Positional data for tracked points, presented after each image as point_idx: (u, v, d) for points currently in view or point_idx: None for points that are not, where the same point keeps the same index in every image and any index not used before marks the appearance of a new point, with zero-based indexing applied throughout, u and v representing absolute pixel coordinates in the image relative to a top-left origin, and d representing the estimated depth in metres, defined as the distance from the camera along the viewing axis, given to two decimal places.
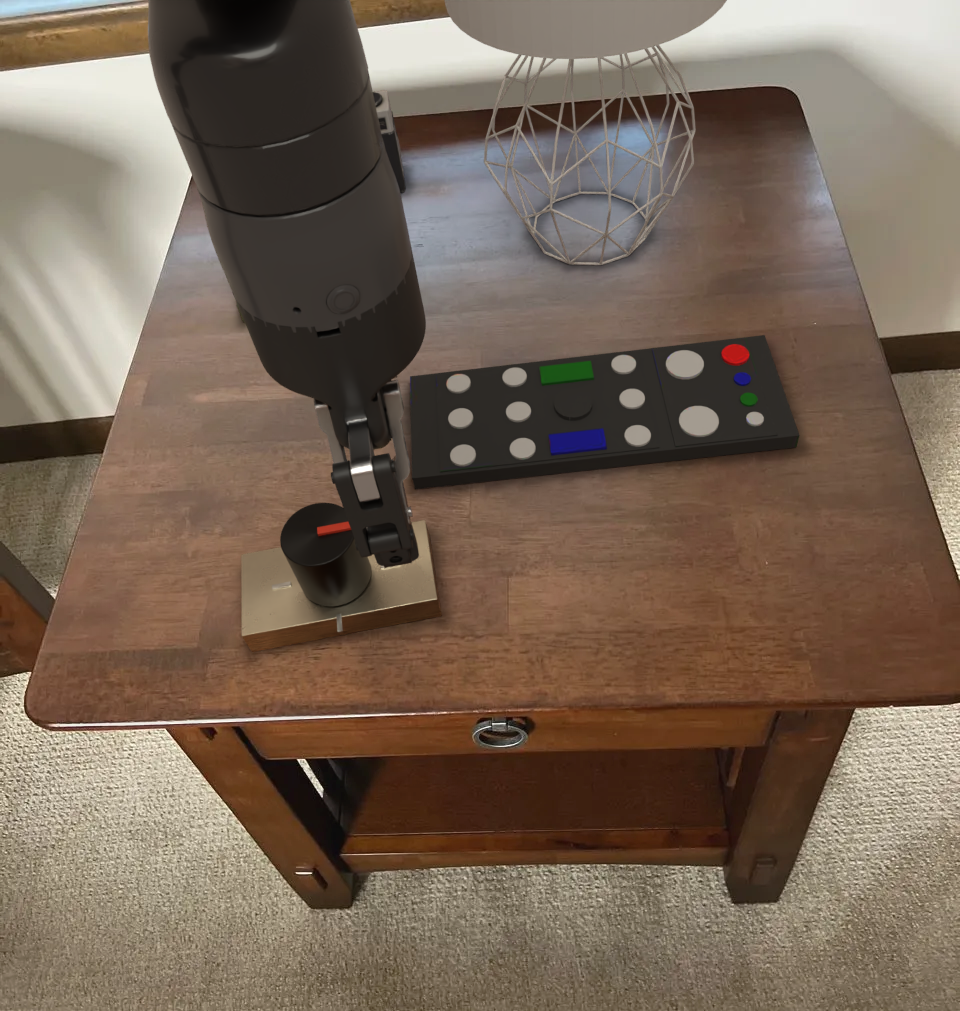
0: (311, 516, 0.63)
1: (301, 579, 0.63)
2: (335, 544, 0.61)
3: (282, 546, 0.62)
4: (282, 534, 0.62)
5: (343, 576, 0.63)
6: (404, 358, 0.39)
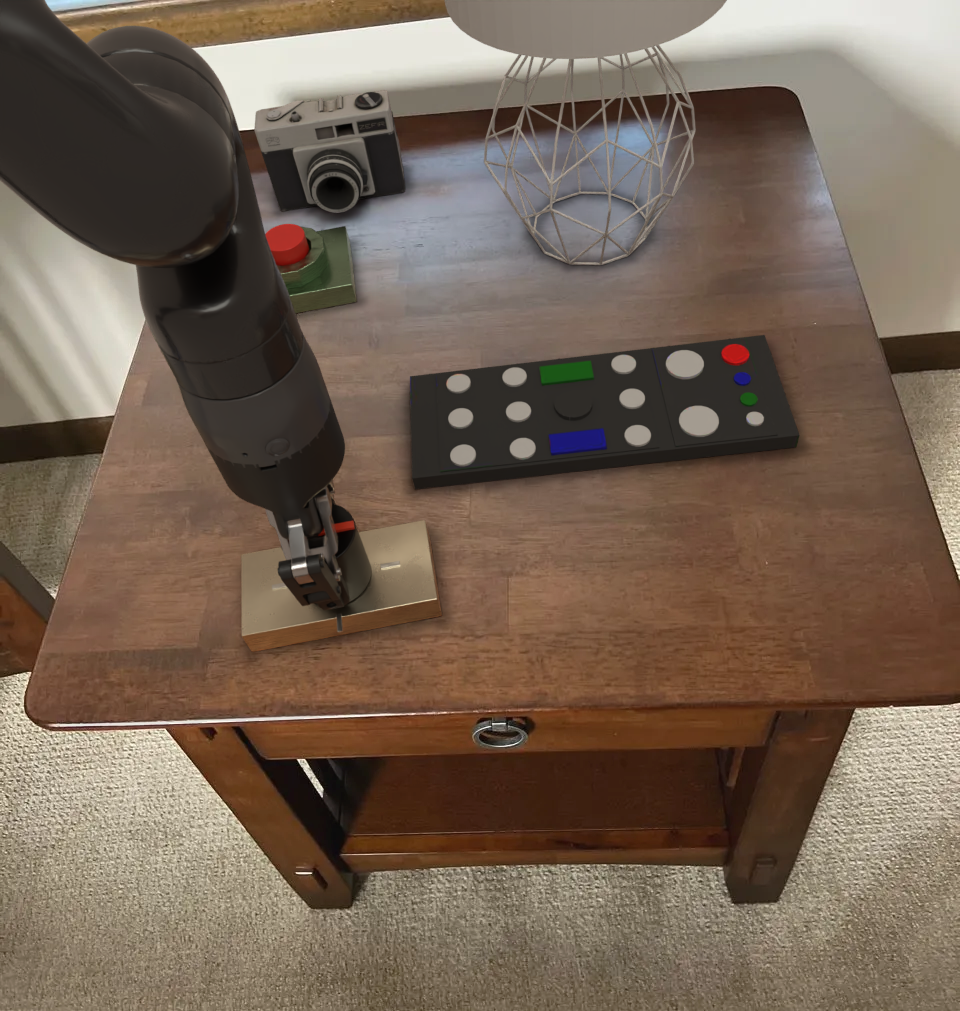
0: None
1: None
2: None
3: None
4: None
5: (343, 576, 0.63)
6: (326, 478, 0.53)
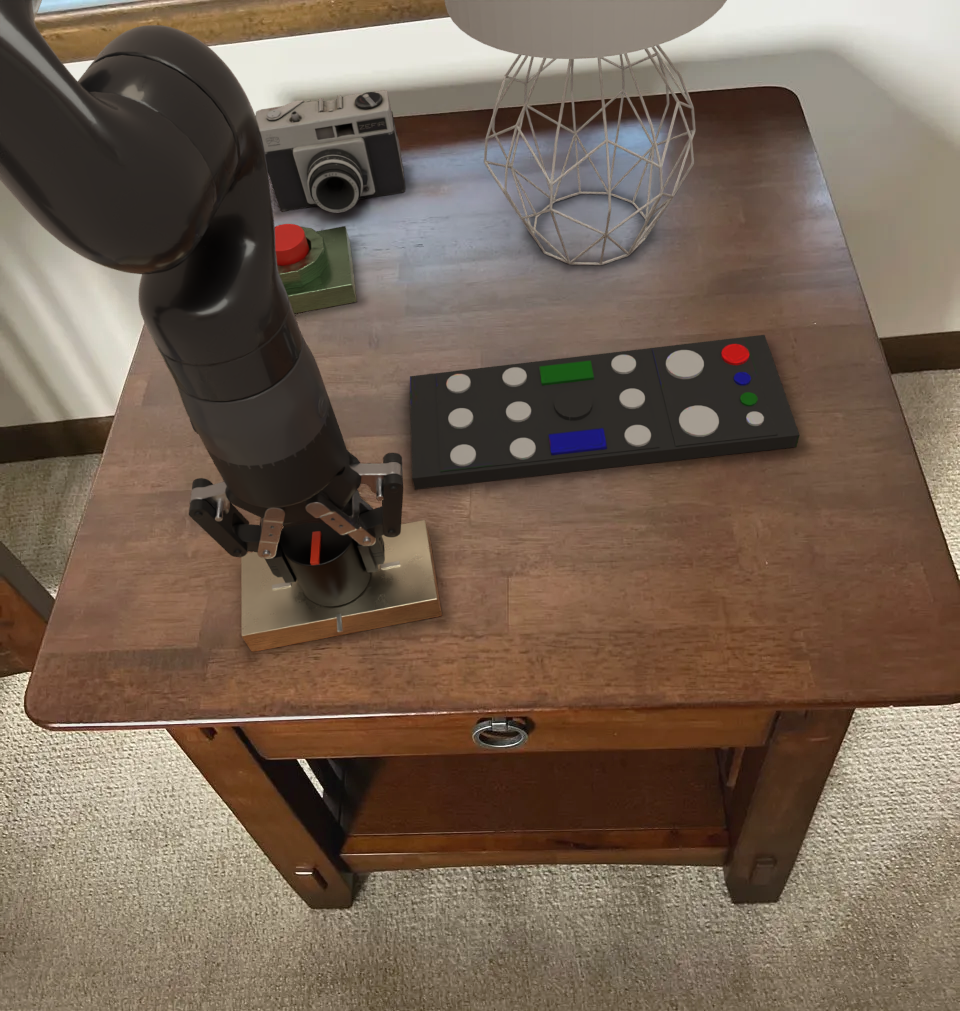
0: None
1: None
2: (298, 548, 0.61)
3: None
4: None
5: (291, 568, 0.63)
6: (233, 491, 0.54)
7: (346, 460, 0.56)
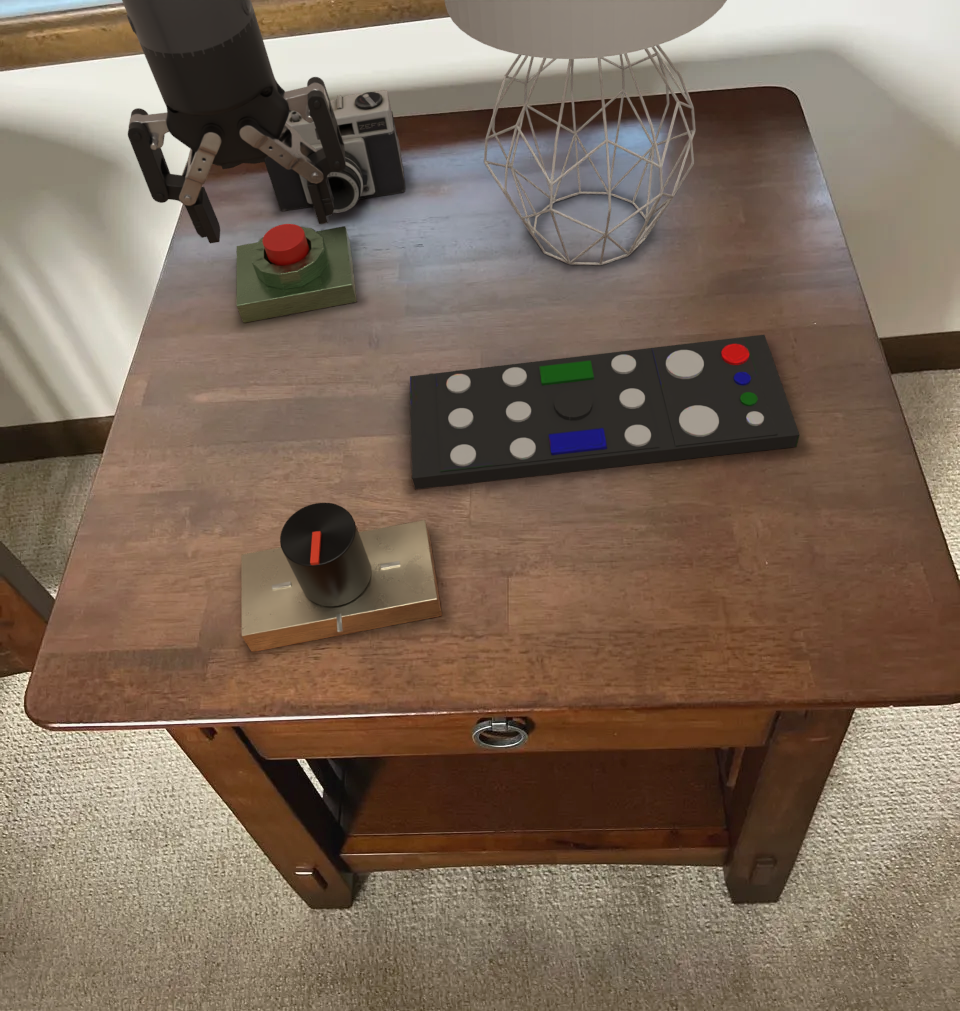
0: (339, 526, 0.62)
1: None
2: (298, 548, 0.61)
3: (312, 505, 0.64)
4: (325, 504, 0.63)
5: (291, 567, 0.63)
6: (171, 102, 0.60)
7: (274, 83, 0.62)
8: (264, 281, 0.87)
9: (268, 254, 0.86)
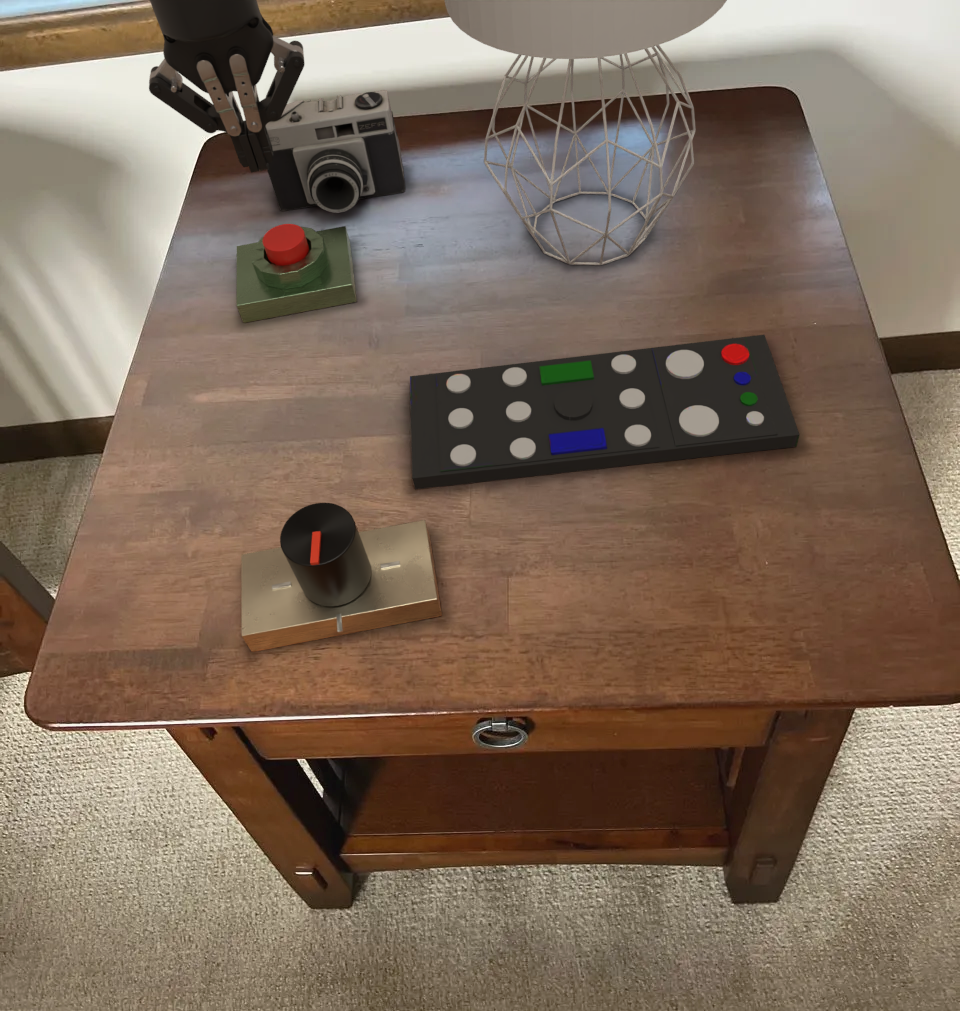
0: (339, 526, 0.62)
1: None
2: (298, 548, 0.61)
3: (312, 505, 0.64)
4: (325, 504, 0.63)
5: (291, 567, 0.63)
6: (168, 30, 0.67)
7: (259, 15, 0.69)
8: (264, 281, 0.87)
9: (268, 254, 0.86)
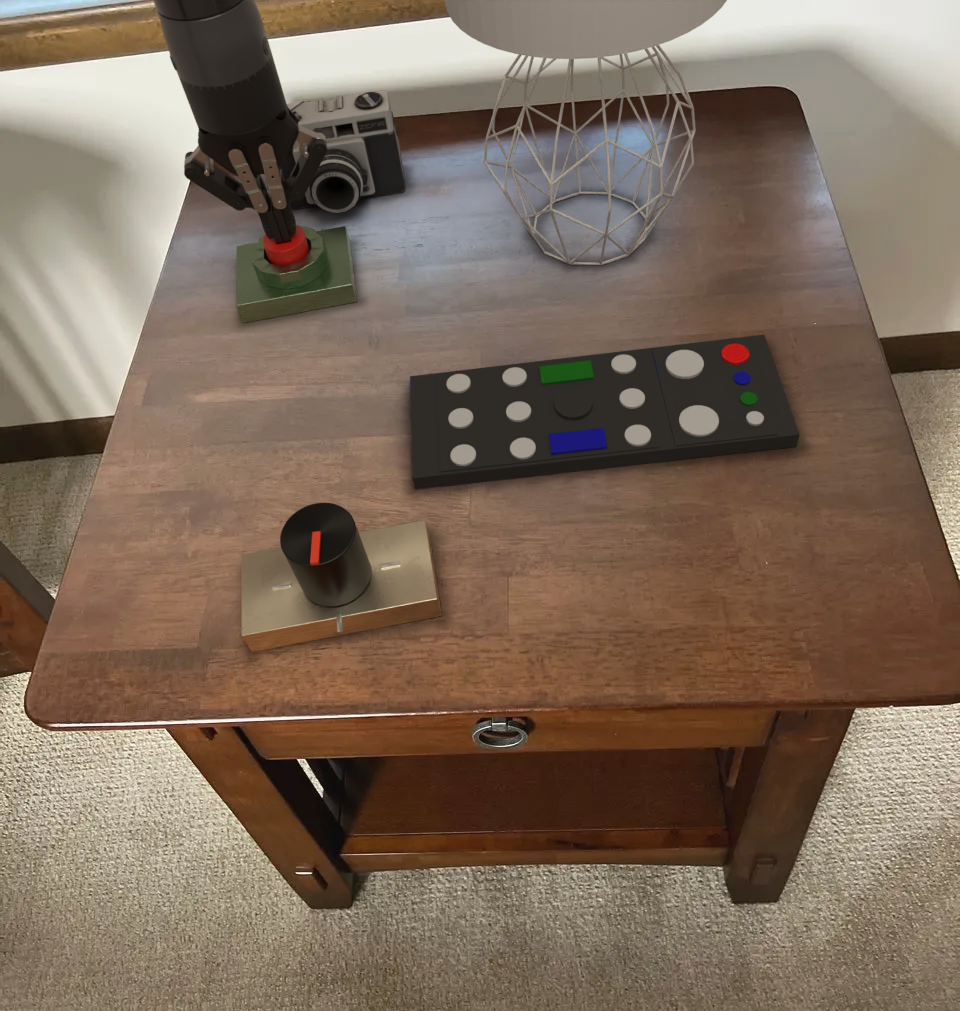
0: (339, 526, 0.62)
1: None
2: (298, 548, 0.61)
3: (312, 505, 0.64)
4: (325, 504, 0.63)
5: (291, 567, 0.63)
6: (204, 125, 0.73)
7: (286, 108, 0.76)
8: (264, 281, 0.87)
9: (268, 254, 0.86)
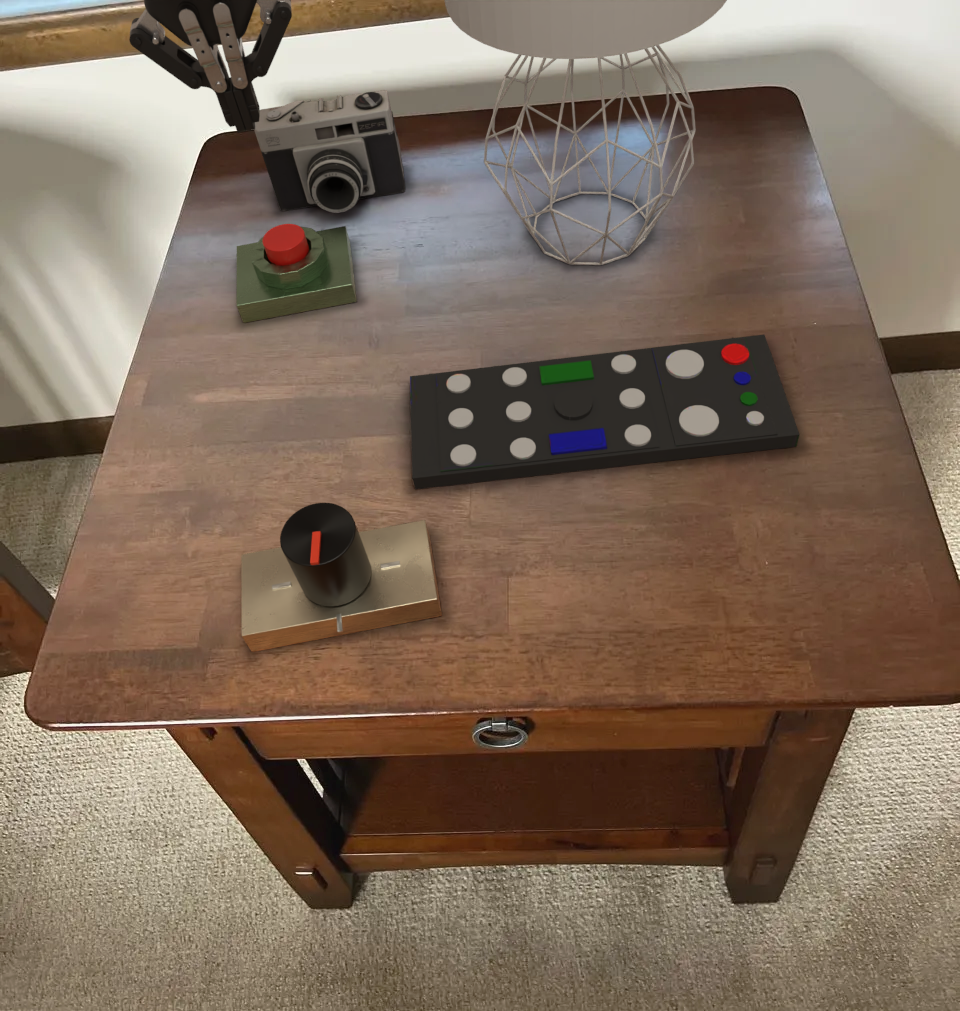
0: (339, 526, 0.62)
1: None
2: (298, 548, 0.61)
3: (312, 505, 0.64)
4: (325, 504, 0.63)
5: (291, 567, 0.63)
6: None
7: None
8: (264, 281, 0.87)
9: (268, 254, 0.86)
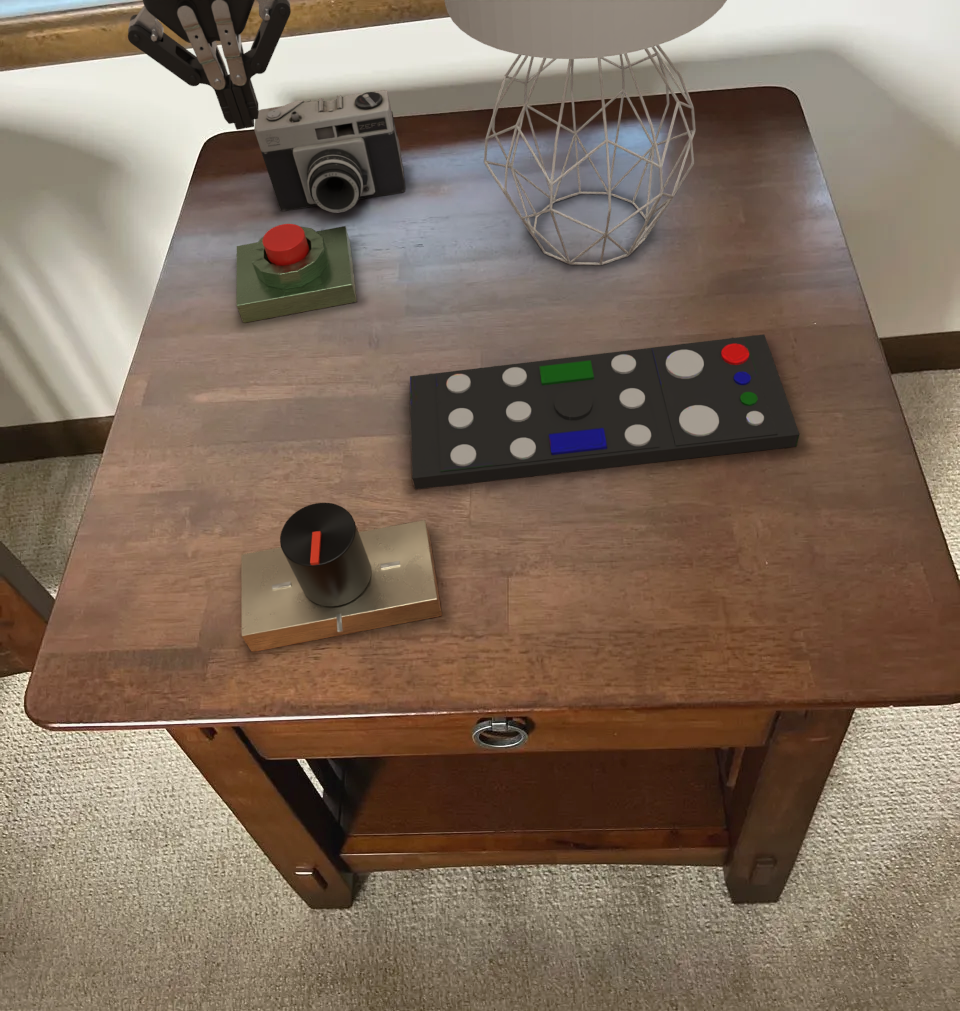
0: (339, 526, 0.62)
1: None
2: (298, 548, 0.61)
3: (312, 505, 0.64)
4: (325, 504, 0.63)
5: (291, 567, 0.63)
6: None
7: None
8: (264, 281, 0.87)
9: (268, 254, 0.86)
